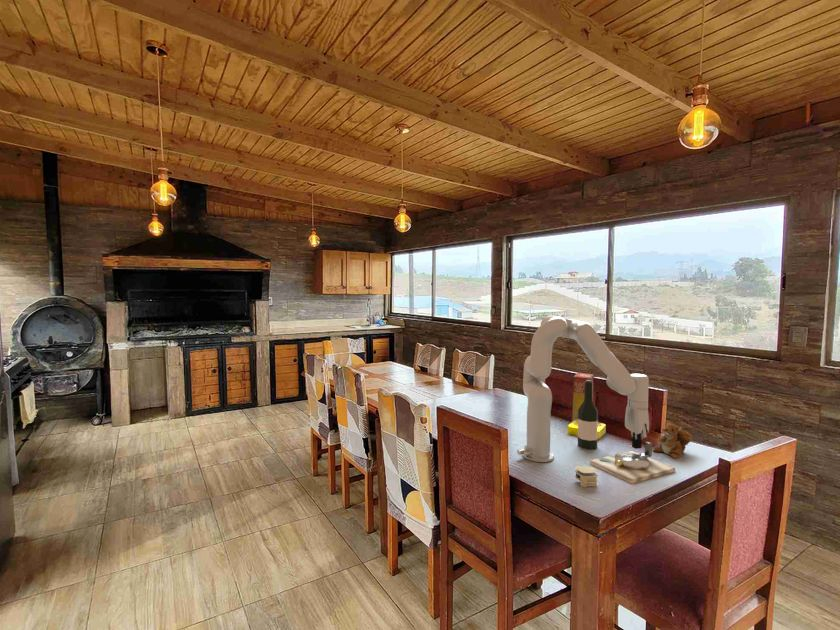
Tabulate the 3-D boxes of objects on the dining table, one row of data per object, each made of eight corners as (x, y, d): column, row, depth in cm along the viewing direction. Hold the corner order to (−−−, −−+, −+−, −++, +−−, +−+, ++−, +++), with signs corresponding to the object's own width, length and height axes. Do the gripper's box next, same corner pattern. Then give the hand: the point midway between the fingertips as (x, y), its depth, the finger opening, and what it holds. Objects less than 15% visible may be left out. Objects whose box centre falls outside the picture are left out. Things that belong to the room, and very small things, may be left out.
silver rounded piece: (630, 472, 152) (631, 455, 152) (604, 461, 163) (604, 444, 163) (664, 464, 160) (664, 447, 160) (636, 453, 171) (637, 437, 171)
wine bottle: (599, 450, 179) (600, 382, 178) (579, 449, 181) (580, 381, 179) (595, 443, 187) (596, 378, 186) (576, 442, 189) (577, 378, 187)
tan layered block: (595, 479, 152) (595, 464, 152) (604, 490, 143) (605, 475, 143) (567, 478, 153) (567, 464, 152) (575, 490, 144) (576, 474, 143)
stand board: (631, 483, 148) (631, 478, 148) (589, 463, 165) (590, 459, 165) (675, 471, 158) (675, 467, 157) (631, 454, 175) (631, 450, 175)
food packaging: (589, 425, 213) (590, 378, 212) (571, 422, 218) (571, 376, 217) (593, 419, 225) (594, 373, 224) (575, 416, 230) (576, 372, 228)
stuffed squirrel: (650, 450, 179) (651, 421, 178) (674, 446, 184) (675, 417, 183) (671, 459, 169) (672, 428, 169) (696, 455, 174) (697, 424, 173)
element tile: (575, 426, 213) (575, 417, 213) (606, 432, 204) (606, 423, 203) (566, 434, 201) (566, 424, 201) (598, 441, 192) (598, 430, 192)
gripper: (618, 399, 176) (617, 441, 177) (640, 409, 161) (639, 455, 162) (635, 399, 177) (634, 441, 178) (658, 408, 162) (657, 454, 163)
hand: (636, 447), depth 170 cm, fingers closed
